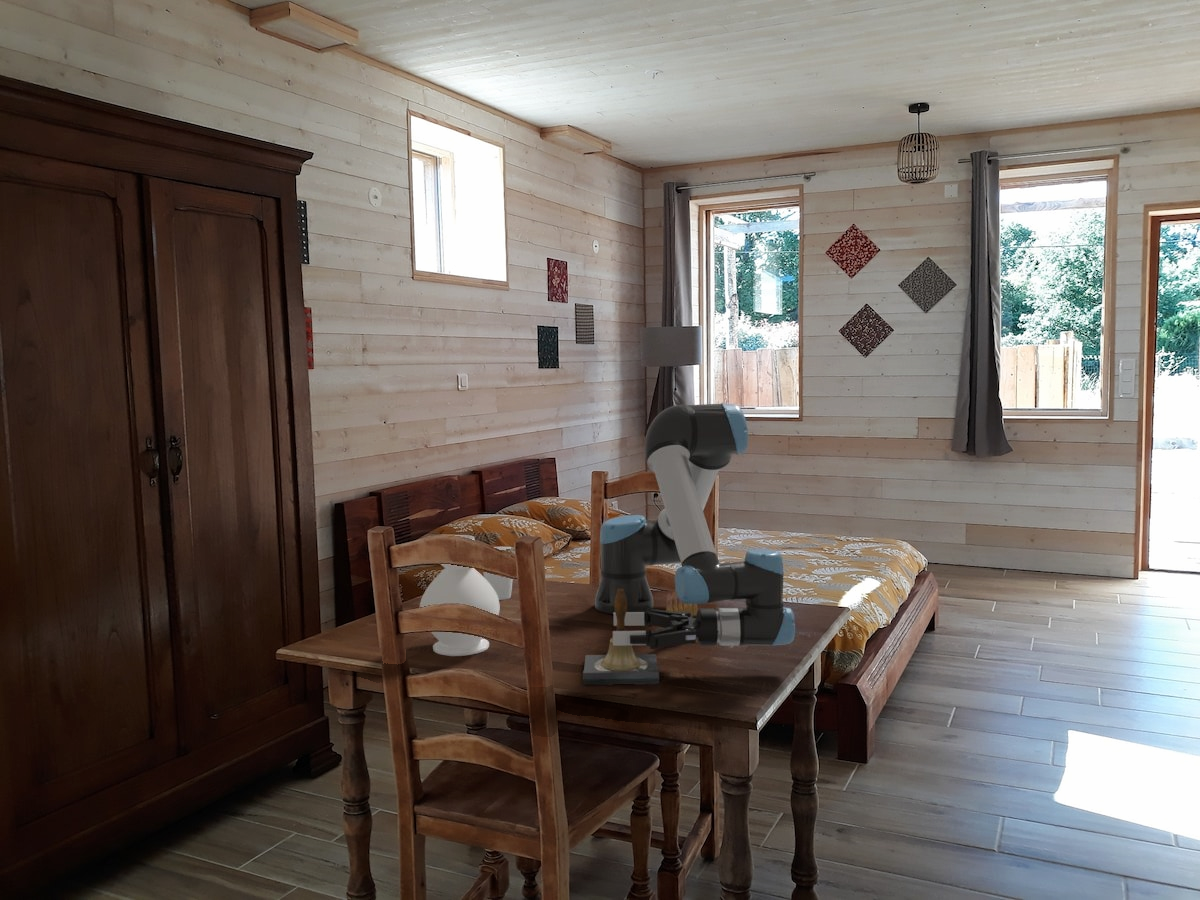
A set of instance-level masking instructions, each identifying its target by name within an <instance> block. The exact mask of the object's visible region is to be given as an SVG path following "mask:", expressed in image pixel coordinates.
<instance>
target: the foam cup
mask: <svg viewBox="0 0 1200 900" xmlns="http://www.w3.org/2000/svg"><path fill="white" fill-rule="evenodd" d="M493 547H494V548H497V549H499V550H506V549H511V548H512V547H510V546H493ZM482 573H483V577H484V578H485V579H486V580H487V581H488V582H489V583H490V585H491V586H492V587H493V589H494V590H495V592H496V594H497V596H498V599H499V601H502V600H503V601H504V600H508V599H510V598H511V596H512V589H513V582H514V581H513V579H514V578H513V579H510V578H506V577H501V576H498V575H494V574H490V573H487V572H483V571H482Z"/></svg>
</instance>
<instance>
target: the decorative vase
mask: <svg viewBox="0 0 1200 900" xmlns="http://www.w3.org/2000/svg"><path fill="white" fill-rule="evenodd" d="M454 535H455V536H461V537H465V538H469V539H472V540H474V541H475V536H473V535H469V534H454ZM440 565H441V567H443V569H442V571H440V572H439V574H438V575H437V576H436V577H434V578H433V580H432V581H431V583H430V584H429V585H428V586H427V588H426V589H425V591H424V593H423V594H422V597H421V600H420V603H419V608H420V607H424V606H428V605H433V604H443V603H459V604H466V605H470V606H474V607H476V608H479V609H482V610H485V611H488V612H490V613H493V614H496V615H498V616H499V615H500V609H501V607H500V600H499V599H498V596H497V594H496V592H495V590H494V589H493V587H492V586H491V585H490V583H489V582H488V581H487V580H486V579H485V578H484V575H482V574H481V573H480V572H479V571H477V569H475V568H474V567H473V568H469V567H463V566H457V565H451V564H440ZM430 633H431V634H432V635H433V636H434V637H435V638H436V639H437V640H438V641H436V642H435V643H434V644H433V645H432V649H433V652H434V653H436V654H438V655H442V656H449V657H462V656H470V655H471V656H472V655H474V654H479V653H481V652H485V651H486V650H488V649H489V647H490V641H489V640H487V639H485V638H484V637H483V638H482V637H478V636H474V635H468V634H462V633H452V632H430Z"/></svg>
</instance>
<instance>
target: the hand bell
mask: <svg viewBox="0 0 1200 900" xmlns="http://www.w3.org/2000/svg"><path fill="white" fill-rule="evenodd" d="M614 607H615V613H616V616H617V626H616V631H626V629H625V628H626V626H625V622H624V619H625V615H626V611H627V599H626V596H625V593H624V589H622V588H619V589H618V590H617V594H616V597H615V601H614ZM605 655H606V657H605V658H604V659H603V660H602V662H601V666H602V667H603V668H605V669H608V670H613V671H629V670H634V669H636V668H638V667H640V666H641V662H640V661H639V659H637V658H636V656H635V652H634V649H633V645H622V646H613V637H611V638H610V640H609V647H608V650H607V653H606V654H605Z"/></svg>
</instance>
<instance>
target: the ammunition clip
mask: <svg viewBox="0 0 1200 900" xmlns="http://www.w3.org/2000/svg"><path fill="white" fill-rule="evenodd" d="M665 607H666V608H665V609H666V610H665V611H673V612H684V613H687V612H689V613H691V618H696V617H697V611H698V604H686V603H683V602H681V601H680V599H679V598H678V596H677V593H676V590H674V591H672V595H671V593H670V592H668V593H667V596H666V606H665Z"/></svg>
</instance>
